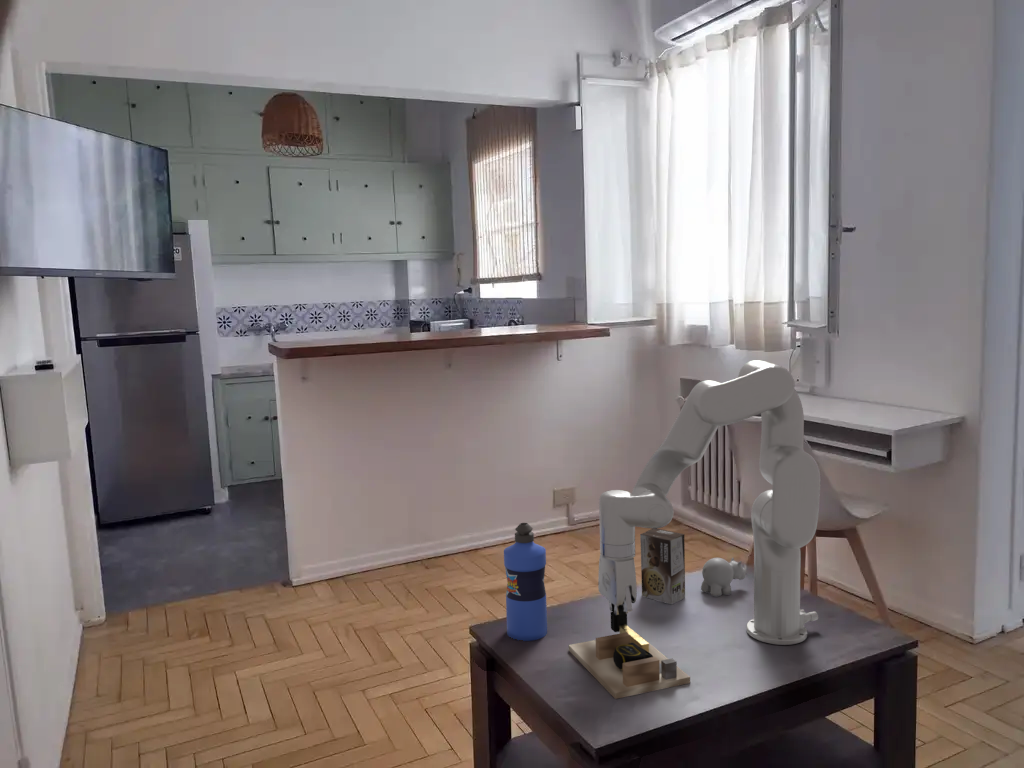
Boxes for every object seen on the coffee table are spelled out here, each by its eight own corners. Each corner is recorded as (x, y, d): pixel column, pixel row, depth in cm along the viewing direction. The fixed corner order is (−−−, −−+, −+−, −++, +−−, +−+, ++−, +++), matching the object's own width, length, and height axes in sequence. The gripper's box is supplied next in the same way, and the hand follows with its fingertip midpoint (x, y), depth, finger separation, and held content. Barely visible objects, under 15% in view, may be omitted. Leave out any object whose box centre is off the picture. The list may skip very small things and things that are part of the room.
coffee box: (686, 597, 196) (686, 533, 194) (671, 605, 192) (671, 540, 190) (655, 588, 203) (654, 526, 201) (640, 596, 198) (639, 533, 196)
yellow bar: (626, 633, 173) (626, 624, 172) (648, 652, 163) (648, 643, 163) (619, 634, 172) (619, 626, 172) (641, 654, 163) (641, 644, 162)
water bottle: (535, 620, 185) (532, 515, 183) (555, 635, 177) (552, 525, 174) (499, 629, 181) (495, 522, 178) (518, 644, 173) (514, 532, 170)
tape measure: (655, 670, 157) (655, 652, 157) (626, 678, 154) (626, 660, 154) (635, 656, 163) (634, 639, 163) (606, 664, 160) (606, 646, 160)
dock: (636, 637, 175) (635, 614, 174) (690, 682, 154) (690, 657, 153) (568, 650, 170) (568, 626, 169) (615, 699, 149) (614, 672, 148)
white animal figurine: (756, 592, 198) (756, 557, 197) (713, 600, 194) (713, 565, 193) (737, 582, 205) (737, 549, 204) (696, 590, 201) (695, 556, 200)
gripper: (587, 540, 178) (589, 619, 180) (617, 561, 164) (618, 646, 166) (618, 536, 180) (619, 614, 182) (649, 556, 166) (651, 640, 168)
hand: (619, 629), depth 174 cm, fingers closed
